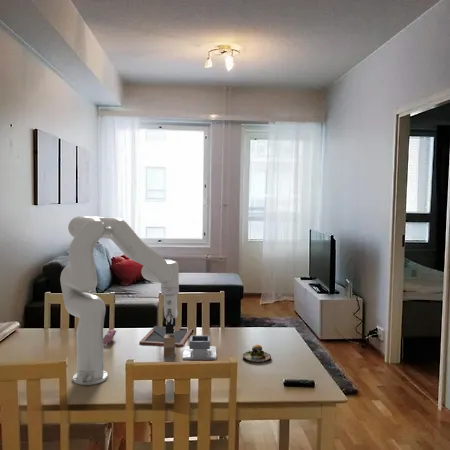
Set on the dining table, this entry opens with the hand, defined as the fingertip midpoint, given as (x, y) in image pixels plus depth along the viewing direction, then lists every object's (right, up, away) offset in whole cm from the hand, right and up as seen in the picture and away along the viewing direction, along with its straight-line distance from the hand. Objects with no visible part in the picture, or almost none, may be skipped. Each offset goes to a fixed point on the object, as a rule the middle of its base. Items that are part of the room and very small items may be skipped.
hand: (170, 329), depth 205 cm
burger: (+36, -12, -4) cm, 39 cm away
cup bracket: (+12, -11, +2) cm, 17 cm away
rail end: (-1, -11, 0) cm, 11 cm away
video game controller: (-31, -10, +16) cm, 36 cm away
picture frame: (-4, -10, +24) cm, 26 cm away
